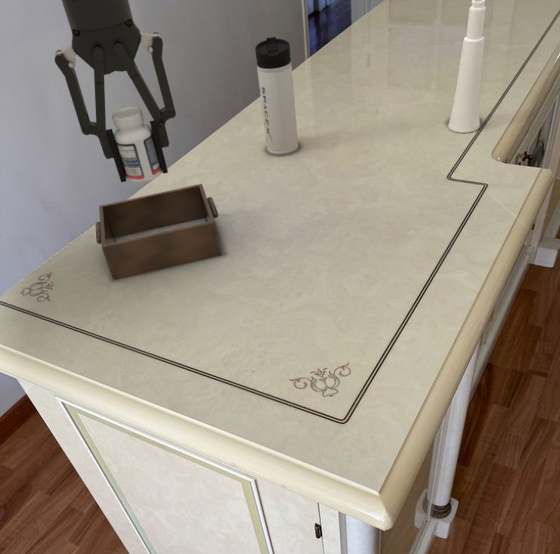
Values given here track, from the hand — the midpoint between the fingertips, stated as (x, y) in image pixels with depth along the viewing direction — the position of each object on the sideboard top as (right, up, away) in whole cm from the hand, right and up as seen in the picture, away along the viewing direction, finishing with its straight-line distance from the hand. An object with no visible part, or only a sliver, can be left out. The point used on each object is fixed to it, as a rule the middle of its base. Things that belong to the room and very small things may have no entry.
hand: (143, 173), depth 85 cm
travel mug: (+20, +15, +33) cm, 42 cm away
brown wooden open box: (+1, -8, +12) cm, 15 cm away
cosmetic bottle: (+56, +20, +33) cm, 68 cm away
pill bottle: (0, 0, 0) cm, 1 cm away
